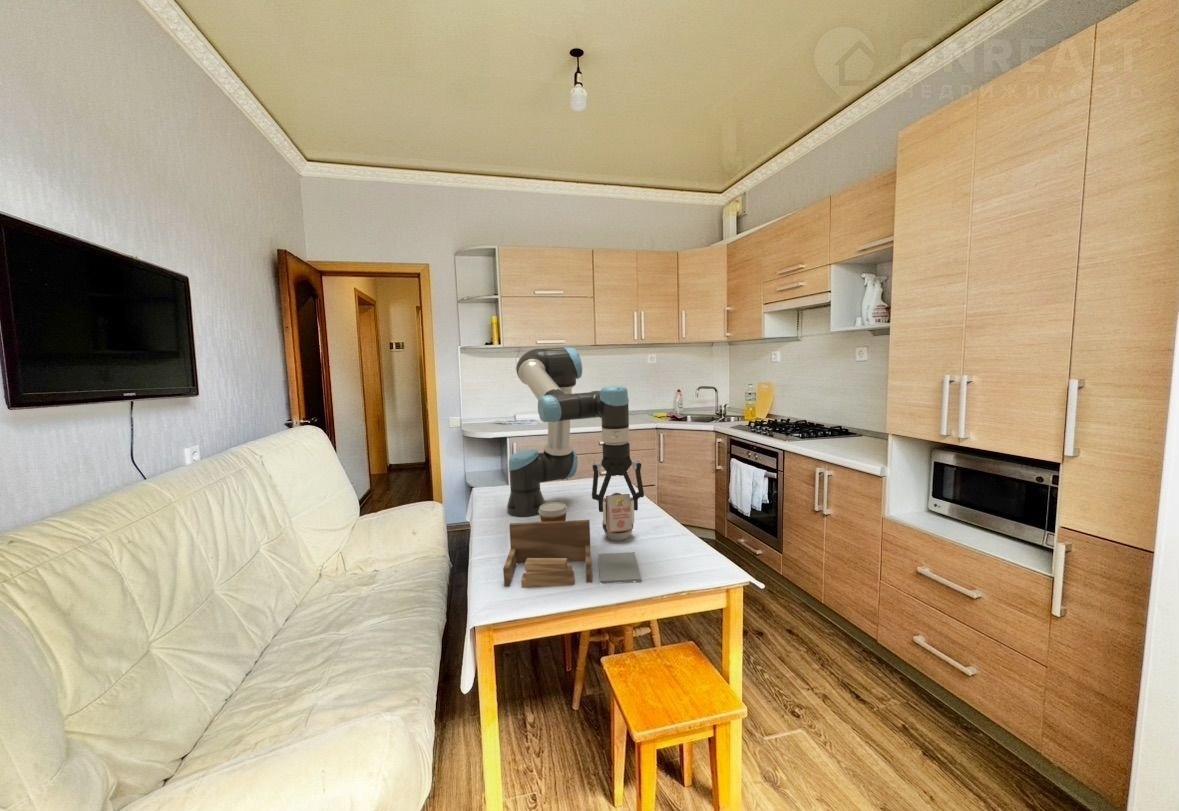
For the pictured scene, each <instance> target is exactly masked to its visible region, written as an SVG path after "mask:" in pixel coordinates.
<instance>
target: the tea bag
mask: <svg viewBox="0 0 1179 811" xmlns="http://www.w3.org/2000/svg"><path fill="white" fill-rule="evenodd" d="M630 494H631V493H625V494H624V493H623V494H622V493H621V495H612V494H610V495H605V498H606V502H605V503H606V529H607V531H608V533H612V532H621V531H631V530H632V531H633V529H632V510H631V502H630V497H631V495H630Z"/></svg>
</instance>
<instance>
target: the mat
mask: <svg viewBox="0 0 1179 811" xmlns="http://www.w3.org/2000/svg"><path fill="white" fill-rule="evenodd" d="M597 555H598V556H597V557H598V567H599V568H598V570H599V582H600V583H604V584H615V583H614V582H626V583H634V582H633V581H642V580H643V579H642V575H641V572H640V568H639V563H638V560H637V555H636V553H635V551H633V552H632V551H628V552H609V553H607V552H606V553H604V552H603V553H598V554H597Z"/></svg>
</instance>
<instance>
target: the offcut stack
mask: <svg viewBox="0 0 1179 811" xmlns="http://www.w3.org/2000/svg"><path fill="white" fill-rule="evenodd" d="M524 571H525V572H523V573H522V576H521V580H520V582H521V588H531V587H532V588H535V587H536V588H537V587H556V586H559V587H560V586H574V585H575V570H574V568H573V563H568V562H567V558H527V560H526V562H525V564H524Z"/></svg>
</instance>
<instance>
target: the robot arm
mask: <svg viewBox="0 0 1179 811" xmlns="http://www.w3.org/2000/svg"><path fill="white" fill-rule="evenodd" d="M515 369H516V374H517V378H518V379H519V380H520V381H521V383H522V384H523V385H526V386H527V387H528V388H529V389H530V391H531V392H532V394H533V395H534V396H535V397H536V399H537V400H538V401H537V412H538V415H539V416H538V417H539V419H540V420H541V421H542V422H543V423H547V443H546V444H545V445H544V446H543V452H539V451H538V450H537V449H525V450H521V451H518V452H515V453H514V454H511V455H510V457H509V459H508V471H509V473H508V474H509V486H510V494H509V498H508V501H507V504H506V509H507V514H508V515H510V516H513V517H518V518H519V517H524V518H525V517H531V516H532V517H533V516H537V515H539V513H538V510H539V507H540V506H541V505H542V504H545V503H546V500H545V498H544V495H543V493H542V491H541V483H546V482H552V481H560V480H563V481H564V480H566V479H571V478H572V477H573V478H574V476H575V475H576V472H577V471H578V463H579V462H578V455H577V452H576V450H575V449H574V447H573V446H572V445H571V444H570V436H571V435H570V434H571V420H584V419H593V418H594V419H597V418H599V419H600V420H601V440H602V442H603V443H602V459H601V461H600V462H593V463H592V471H593V477H592V487H591V499H592V500H593V501H597V502H598V512H599V513H602V524H603V523H604V524H606V502H605V499H603V498H605V496H606V491H607V489H608V486H609V483H610V481H611V478H612V477H616V476H619V477H621V476H622V477H623V478H624V480H625V483H626V484H627V487H628V488H629V489H628V490H629V492H630V494H631V495H632V496H630V502H631V510H632V523H633V524H635V511H638V510H639V505H638V504H639V501H638V500H639V499H640V498H644V497H645V492H644V491H645V490H644V488H643V487H644V486H643V479H642V474H641V469H642V462H641V461H640V460H637V461H634V460H632V459H631V452H630V451H631V449H630V447H631V446H630V443H629V441H630V423H629V422H630V418H629V415H630V412H629V403H630V400H629V394H628V393H629V392H628V389H627V387H626V386H623V385H621V386H620V385H619V386H618V385H614V386H613V385H611V386H603V387H601V389H600V390H590V391H588V392H579V393H578V392H577V393H576V392H575V393H572V391H573V390H572V389H573V388H574V387H575V386H576V385H577V380H580V378H582V375H583V364H582V360H581V356H580V354H579V352H578V350H577V349H575V348H573V347H565V346H563V347H549V348H547V347H546V348H534V349H531V350H528V351H527V352H525V353H524V354H522V356H521V357H520V358H519V359H518V361H517V363H516V368H515ZM631 466H632V469H633V470H635V471H634V473H635V479H636V485H637V489H638V491H636V489H635V487H634V484H633V483H632V480H631V478H630V476H629V473H628V471H629V469H630V468H631ZM601 468H603V469H604V470H605V471H606V473H605V477H604V479H603V482H602V484H601V486H600V490H599V493H597V492H598V483H599V472H600V471H601Z"/></svg>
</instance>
